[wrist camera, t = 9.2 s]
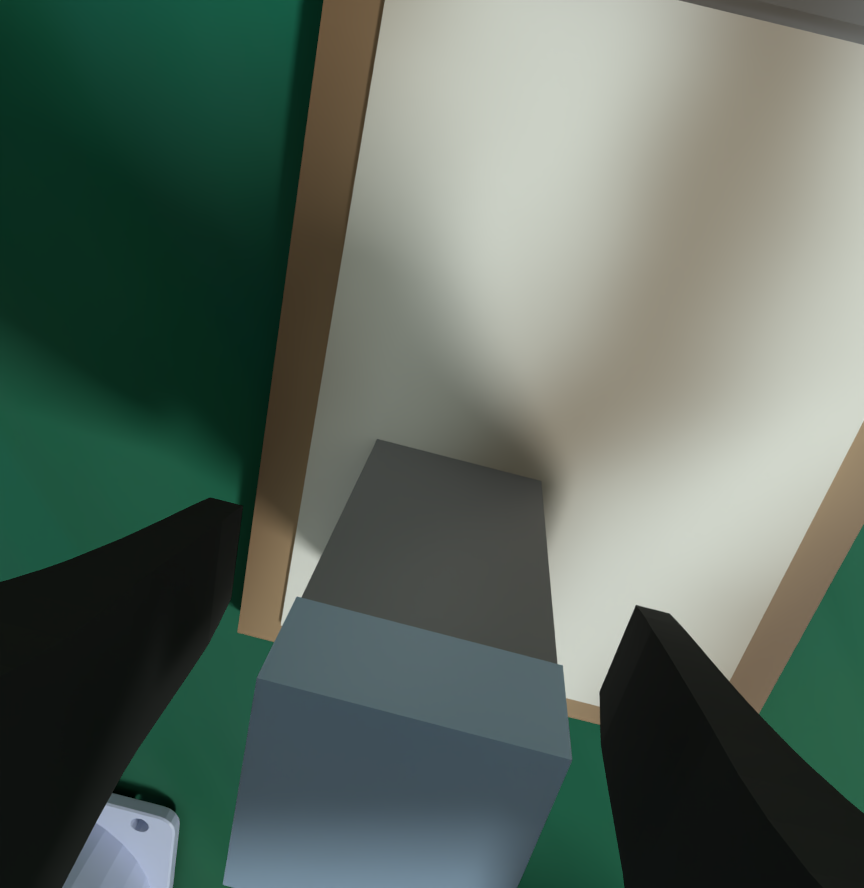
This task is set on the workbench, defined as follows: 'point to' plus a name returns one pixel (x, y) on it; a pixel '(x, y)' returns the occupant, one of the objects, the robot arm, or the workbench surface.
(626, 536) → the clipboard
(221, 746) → the workbench surface
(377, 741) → the block
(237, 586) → the workbench surface
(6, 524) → the workbench surface
